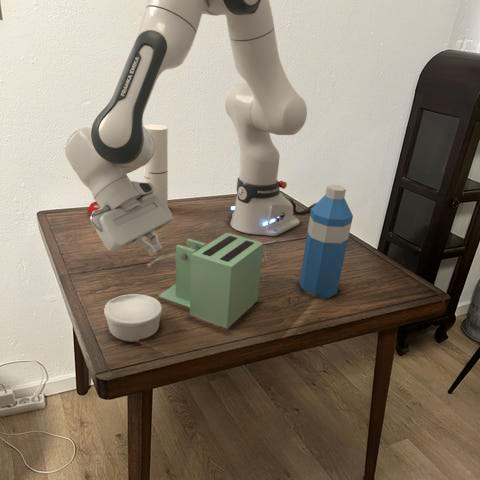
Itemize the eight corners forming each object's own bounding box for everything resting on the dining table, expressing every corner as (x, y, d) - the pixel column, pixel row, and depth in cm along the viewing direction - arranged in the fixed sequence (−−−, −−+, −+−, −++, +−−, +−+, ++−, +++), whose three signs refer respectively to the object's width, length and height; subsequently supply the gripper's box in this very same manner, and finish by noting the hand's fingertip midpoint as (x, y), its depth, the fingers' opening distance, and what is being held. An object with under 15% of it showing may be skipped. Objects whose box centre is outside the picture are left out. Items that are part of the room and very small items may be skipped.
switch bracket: (158, 300, 110) (157, 245, 103) (180, 284, 117) (181, 231, 109) (199, 315, 106) (202, 259, 99) (221, 298, 113) (224, 244, 105)
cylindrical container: (163, 215, 153) (162, 131, 139) (141, 212, 154) (138, 127, 140) (170, 207, 159) (170, 126, 145) (149, 204, 160) (147, 123, 146)
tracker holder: (128, 211, 150) (99, 210, 142) (124, 224, 152) (95, 223, 145) (108, 191, 155) (79, 189, 148) (104, 204, 158) (76, 202, 150)
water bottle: (312, 301, 115) (331, 196, 101) (291, 283, 121) (306, 182, 108) (344, 294, 118) (367, 192, 105) (322, 277, 125) (340, 179, 112)
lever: (149, 271, 110) (144, 261, 109) (163, 263, 114) (159, 253, 113) (191, 260, 103) (186, 250, 102) (204, 252, 107) (200, 241, 106)
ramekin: (143, 309, 106) (142, 288, 103) (173, 333, 99) (173, 311, 96) (95, 325, 99) (93, 303, 97) (123, 352, 93) (122, 329, 90)
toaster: (188, 319, 104) (190, 253, 96) (222, 292, 115) (226, 231, 107) (226, 333, 101) (231, 266, 93) (257, 304, 112) (264, 242, 104)
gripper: (93, 205, 98) (135, 263, 100) (155, 181, 114) (190, 231, 115) (79, 221, 102) (119, 276, 104) (140, 196, 118) (174, 244, 119)
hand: (157, 252), depth 110 cm, fingers closed
